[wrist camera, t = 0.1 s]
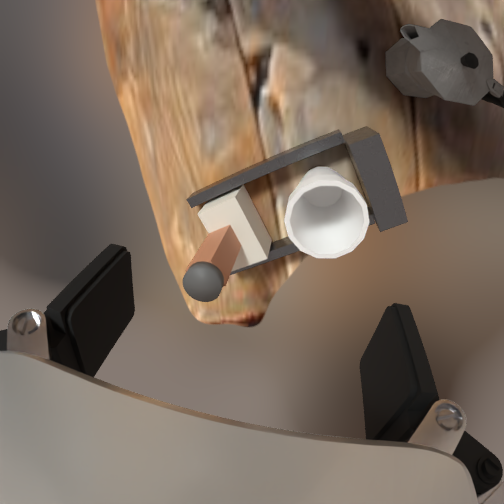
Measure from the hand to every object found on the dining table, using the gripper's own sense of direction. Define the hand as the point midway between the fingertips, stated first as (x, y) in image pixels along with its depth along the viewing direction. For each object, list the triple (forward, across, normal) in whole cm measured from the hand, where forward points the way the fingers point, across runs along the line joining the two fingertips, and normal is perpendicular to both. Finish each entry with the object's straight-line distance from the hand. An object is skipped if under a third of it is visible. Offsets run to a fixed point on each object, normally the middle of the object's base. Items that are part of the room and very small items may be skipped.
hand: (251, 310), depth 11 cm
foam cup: (+38, -5, +6) cm, 38 cm away
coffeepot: (+37, -16, -15) cm, 43 cm away
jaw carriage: (+37, +6, +13) cm, 40 cm away
